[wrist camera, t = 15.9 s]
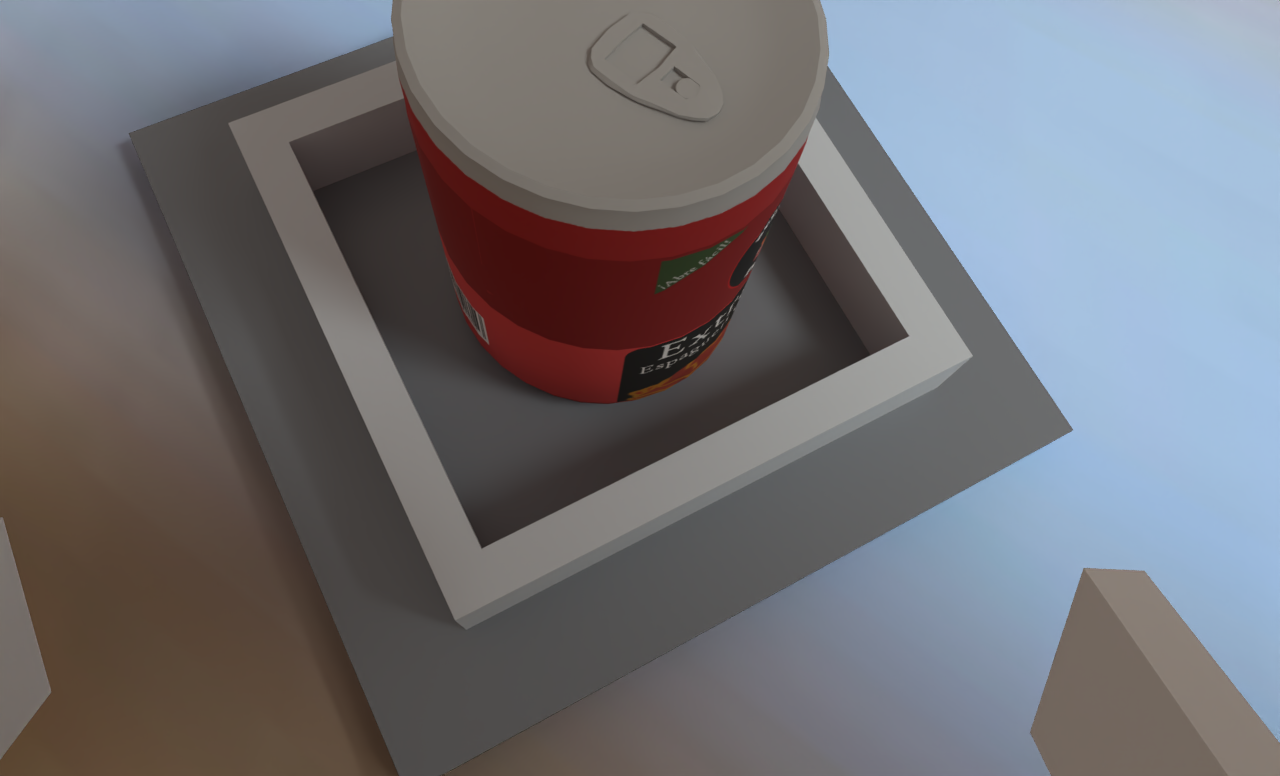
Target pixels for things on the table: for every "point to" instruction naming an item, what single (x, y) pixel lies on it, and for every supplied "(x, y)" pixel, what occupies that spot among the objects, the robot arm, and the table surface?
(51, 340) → the table surface
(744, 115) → the canned food
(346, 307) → the end holder
